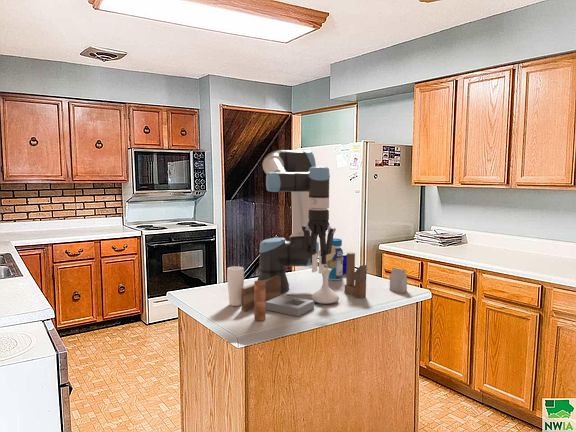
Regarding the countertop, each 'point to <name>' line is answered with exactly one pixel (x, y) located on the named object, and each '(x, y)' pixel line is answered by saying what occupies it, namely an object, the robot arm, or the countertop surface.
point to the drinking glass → (235, 284)
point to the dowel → (259, 300)
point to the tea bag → (398, 280)
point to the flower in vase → (326, 283)
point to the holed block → (289, 305)
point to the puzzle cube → (343, 264)
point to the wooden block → (355, 278)
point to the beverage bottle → (336, 261)
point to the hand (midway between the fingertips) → (318, 272)
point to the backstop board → (270, 292)
